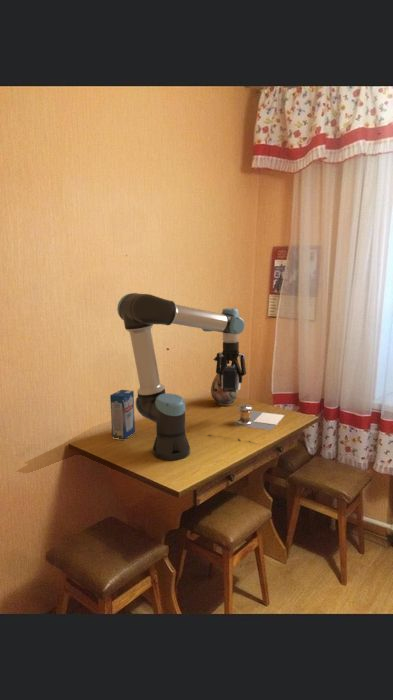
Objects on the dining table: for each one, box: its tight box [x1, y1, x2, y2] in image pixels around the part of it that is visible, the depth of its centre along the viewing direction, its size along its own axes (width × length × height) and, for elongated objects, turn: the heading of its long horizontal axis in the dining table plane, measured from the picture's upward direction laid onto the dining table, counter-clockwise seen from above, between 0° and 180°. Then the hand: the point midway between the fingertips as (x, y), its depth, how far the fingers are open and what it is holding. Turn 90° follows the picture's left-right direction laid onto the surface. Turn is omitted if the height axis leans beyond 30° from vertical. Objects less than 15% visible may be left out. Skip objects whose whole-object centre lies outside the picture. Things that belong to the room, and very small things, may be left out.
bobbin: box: [237, 404, 253, 425], centre depth 204 cm, size 7×7×8 cm
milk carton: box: [109, 389, 136, 440], centre depth 192 cm, size 10×6×20 cm, turn 160°
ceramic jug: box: [210, 355, 239, 407], centre depth 238 cm, size 17×15×30 cm
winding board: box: [232, 410, 286, 431], centre depth 210 cm, size 19×24×2 cm
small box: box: [223, 365, 238, 392], centre depth 205 cm, size 11×6×10 cm, turn 167°
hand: (230, 388), depth 206 cm, fingers closed on small box, 7 cm apart
